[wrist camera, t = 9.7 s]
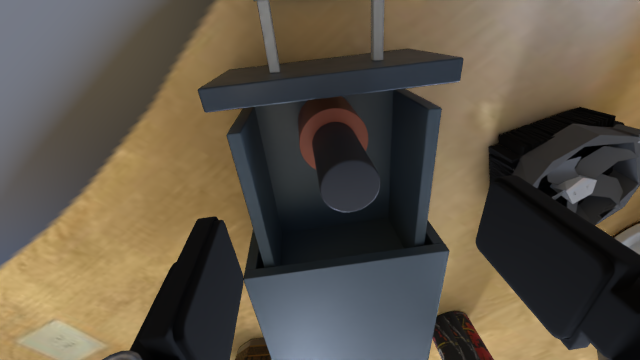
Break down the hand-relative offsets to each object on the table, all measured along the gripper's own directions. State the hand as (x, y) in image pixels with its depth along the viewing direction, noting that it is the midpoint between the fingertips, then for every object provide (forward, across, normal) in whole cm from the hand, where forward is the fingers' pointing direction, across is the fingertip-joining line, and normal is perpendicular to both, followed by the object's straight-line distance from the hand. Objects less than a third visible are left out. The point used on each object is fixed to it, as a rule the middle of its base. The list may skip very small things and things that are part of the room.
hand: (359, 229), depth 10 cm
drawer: (+14, 0, +1) cm, 14 cm away
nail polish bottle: (+13, 0, 0) cm, 13 cm away
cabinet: (+15, 0, +16) cm, 22 cm away
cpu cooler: (+15, -21, +8) cm, 27 cm away
